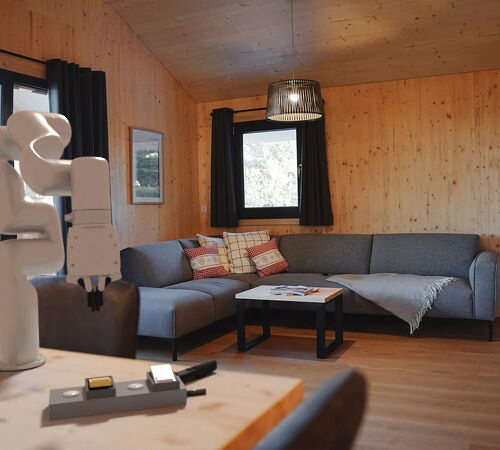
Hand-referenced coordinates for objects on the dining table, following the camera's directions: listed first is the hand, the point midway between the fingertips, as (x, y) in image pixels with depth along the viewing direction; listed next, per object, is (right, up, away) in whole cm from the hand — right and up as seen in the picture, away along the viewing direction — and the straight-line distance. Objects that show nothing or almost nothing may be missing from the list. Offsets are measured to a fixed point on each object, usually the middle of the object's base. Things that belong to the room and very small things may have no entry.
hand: (95, 310), depth 114 cm
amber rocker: (+1, -14, -1) cm, 14 cm away
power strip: (+7, -19, +1) cm, 20 cm away
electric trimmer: (+17, -18, +16) cm, 30 cm away
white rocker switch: (+13, -14, +2) cm, 19 cm away
